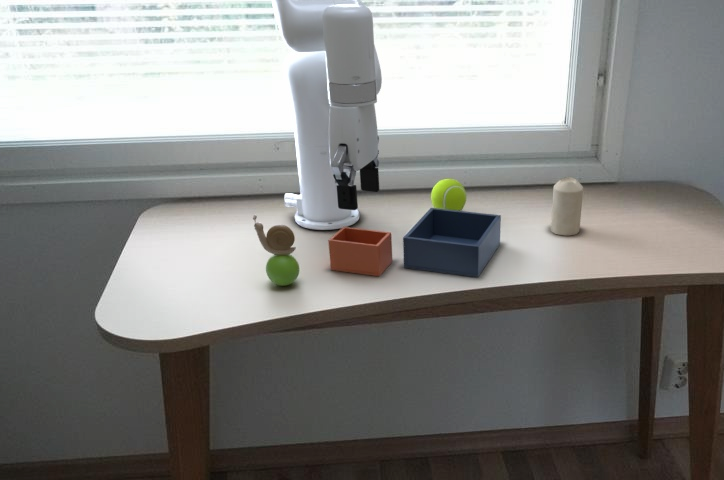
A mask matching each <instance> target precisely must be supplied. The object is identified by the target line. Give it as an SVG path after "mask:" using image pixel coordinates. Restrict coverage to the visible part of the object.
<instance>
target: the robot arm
mask: <svg viewBox="0 0 724 480" xmlns="http://www.w3.org/2000/svg"><path fill="white" fill-rule="evenodd" d="M271 3H272V9H273V13H274V16H275V20H276V23H277V27H278V30H279V33H280V36H281V38H282V40H283V42H284V44H285V45H286V47H287V48H288V49H290V50H291V51H292V52H290V53H288V55H286V57H285V59H284V61H283V65H282V74H283V81H284V84H285V88H286V92H287V96H288V101H289V105H290V110H291V116H292V124H293V132H294V141H295V152H296V163H297V173H298V180H299V181H298V183H299V191H300V192H299V193H300V194H295V193H288V192H287V193H285V194H284V196H283V201H284V206H285V207H287V208H295V209H296V212H295V213H294V221H295V223H297V225H298V226H300V227H302V228H305V229H309V230H314V231H315V230H317V231H331V230H338V229H339V230H340V229H341V228H343V227H350V226H352V225H354V224H356V223H357V222H358V221H359V219H360V211H359V207H358V205H359V204H358V190H357V189H358V188H357V185H356V184H355V181H356V180H355V179H356V176H357V172H358V171H359V181H360V190H361V191H363V192H371V193H372V192H373V193H378V192H379V191H380V175H379V165H380V161H379V159H378V158H379V157H378V156H379V154H380V153H379V152H380V150H379V142H380V137H379V134H378V122H377V112H376V106H375V104H377V102H378V95H379V93H380V91H381V89H382V83H383V81H382V79H383V76H382V69H381V64H380V61H379V57H378V53H377V49H376V45H375V38H374V37H375V35H374V34H375V33H374V18H373V13H372V11H371V9H370V8H369V7H368V6H366V5H365V3H363V1H361V0H271Z"/></svg>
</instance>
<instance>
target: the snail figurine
mask: <svg viewBox="0 0 724 480" xmlns="http://www.w3.org/2000/svg"><path fill="white" fill-rule="evenodd" d="M257 217H258V216H257V215H256V214H253V216H252V219H253V221H254V225H253V227H254V230H255V231H256V235H257V237H258V240H259V242H260V244H261V246H262V247H263V249H264V250H265V251H266V252H267V253H269V254H272V255H271V256H270V257H269V258H268V260H267V262H266V265H265V273H266V276H267V278H268V279H269V280H270V281H271V283H273V284H275V285H277V286H280V287H281V286H282V287H284V286H289V285H291V284H293V283H294V282H295V281H297V279H298V277H299V275H300V265H299V262H298V260H297V258H296V257H294V256H293V255H292V254H293V253H294V252H295V251H296V249H297V247H296V246H293V245H294V244H295V240H296V238H295V233H294V232H293V230H292V229H291V228H290V227H289V226H287V225H285V224H275V225H273V226H271V227H270V228H269V229H268V230H267V232H266V234H265V232H264V225H263V223H261V222H259V221H256V220H257Z"/></svg>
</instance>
